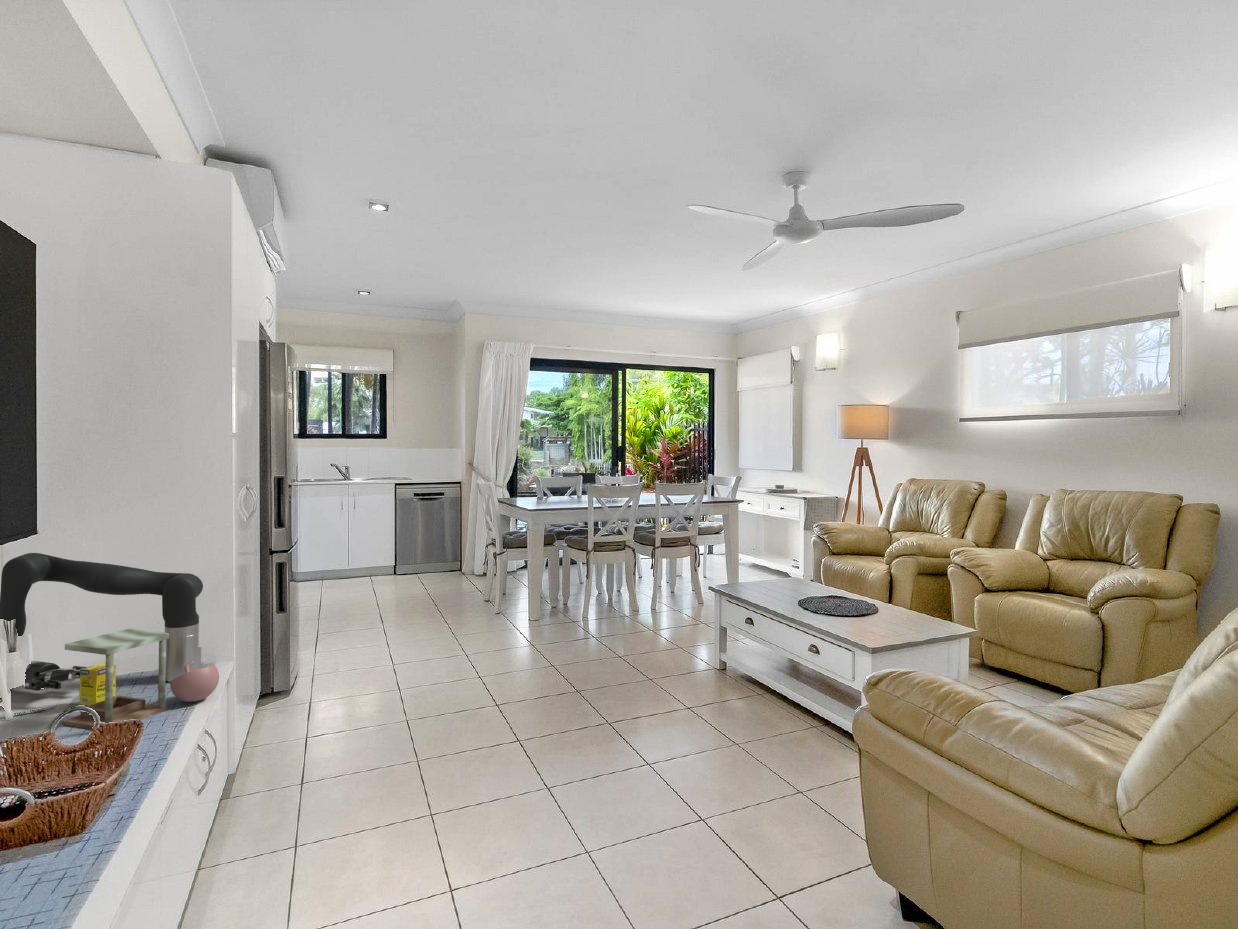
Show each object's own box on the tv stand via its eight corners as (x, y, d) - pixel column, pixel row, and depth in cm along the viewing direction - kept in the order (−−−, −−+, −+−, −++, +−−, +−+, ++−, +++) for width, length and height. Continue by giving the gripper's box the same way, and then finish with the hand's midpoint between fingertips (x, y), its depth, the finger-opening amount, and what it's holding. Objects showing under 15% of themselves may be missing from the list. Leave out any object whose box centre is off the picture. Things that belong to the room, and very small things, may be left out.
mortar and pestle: (202, 691, 199) (203, 653, 199) (227, 697, 193) (228, 659, 193) (160, 704, 188) (161, 664, 188) (186, 711, 183) (187, 670, 183)
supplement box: (96, 709, 183) (96, 670, 183) (78, 707, 184) (79, 669, 184) (116, 702, 189) (116, 664, 189) (99, 700, 190) (99, 662, 190)
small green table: (125, 702, 188) (126, 628, 188) (168, 709, 184) (169, 633, 184) (60, 725, 172) (62, 643, 172) (105, 733, 167) (106, 649, 167)
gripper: (8, 669, 187) (48, 675, 182) (63, 655, 200) (101, 660, 196) (8, 695, 187) (48, 701, 182) (62, 679, 200) (101, 685, 196)
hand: (76, 680), depth 189 cm, fingers open, 8 cm apart
